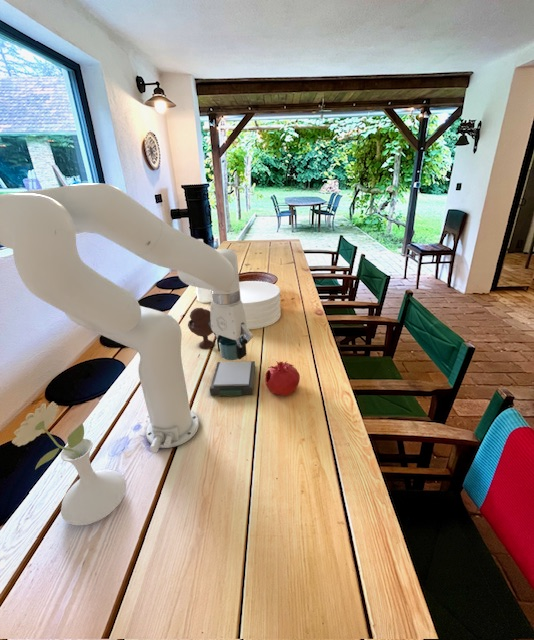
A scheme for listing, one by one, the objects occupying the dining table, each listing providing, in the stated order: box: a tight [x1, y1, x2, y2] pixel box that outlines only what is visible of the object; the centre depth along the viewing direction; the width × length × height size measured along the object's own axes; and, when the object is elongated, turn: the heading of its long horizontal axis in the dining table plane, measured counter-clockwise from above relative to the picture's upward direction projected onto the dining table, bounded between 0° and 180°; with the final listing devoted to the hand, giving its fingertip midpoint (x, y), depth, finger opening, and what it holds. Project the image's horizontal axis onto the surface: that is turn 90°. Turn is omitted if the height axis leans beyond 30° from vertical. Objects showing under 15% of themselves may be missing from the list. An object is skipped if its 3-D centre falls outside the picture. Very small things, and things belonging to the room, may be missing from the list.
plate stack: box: [239, 280, 282, 330], centre depth 140 cm, size 28×28×12 cm
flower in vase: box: [11, 400, 127, 526], centre depth 57 cm, size 13×11×25 cm
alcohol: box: [195, 238, 212, 304], centre depth 156 cm, size 9×9×30 cm
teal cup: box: [219, 337, 242, 361], centre depth 93 cm, size 7×7×5 cm
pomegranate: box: [264, 360, 301, 397], centre depth 91 cm, size 10×10×9 cm
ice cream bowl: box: [187, 307, 215, 350], centre depth 116 cm, size 11×11×15 cm
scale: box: [209, 360, 256, 397], centre depth 97 cm, size 15×12×3 cm
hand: (232, 352), depth 94 cm, fingers closed on teal cup, 7 cm apart
